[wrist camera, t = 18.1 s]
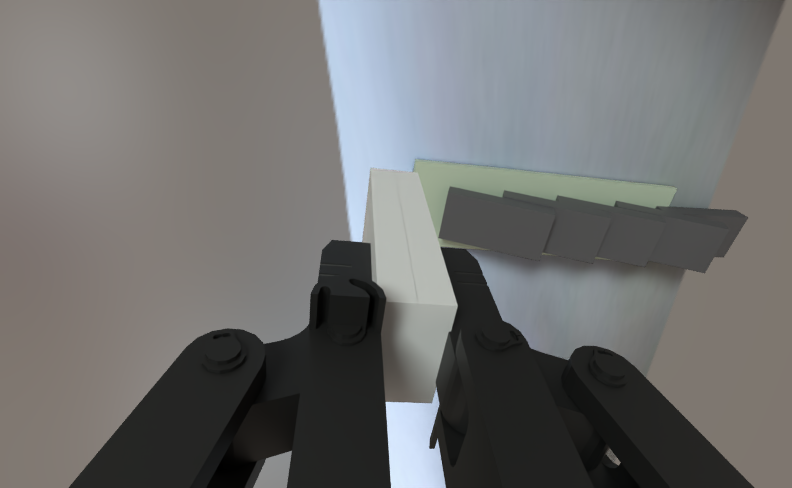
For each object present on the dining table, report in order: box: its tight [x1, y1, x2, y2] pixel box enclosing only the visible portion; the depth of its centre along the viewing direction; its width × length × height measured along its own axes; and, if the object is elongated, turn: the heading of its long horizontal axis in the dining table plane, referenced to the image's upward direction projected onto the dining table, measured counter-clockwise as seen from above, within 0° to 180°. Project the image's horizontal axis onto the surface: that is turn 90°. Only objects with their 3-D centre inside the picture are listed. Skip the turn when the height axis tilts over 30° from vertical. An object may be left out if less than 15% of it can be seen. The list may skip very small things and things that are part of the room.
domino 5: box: [655, 206, 748, 257], centre depth 46 cm, size 5×2×10 cm
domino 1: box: [438, 186, 556, 261], centre depth 42 cm, size 5×2×10 cm
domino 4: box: [614, 201, 729, 273], centre depth 44 cm, size 5×2×10 cm
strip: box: [413, 159, 677, 260], centre depth 45 cm, size 9×27×1 cm, turn 82°
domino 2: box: [502, 190, 612, 264], centre depth 43 cm, size 5×2×10 cm
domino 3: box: [556, 195, 667, 267], centre depth 43 cm, size 5×2×10 cm
